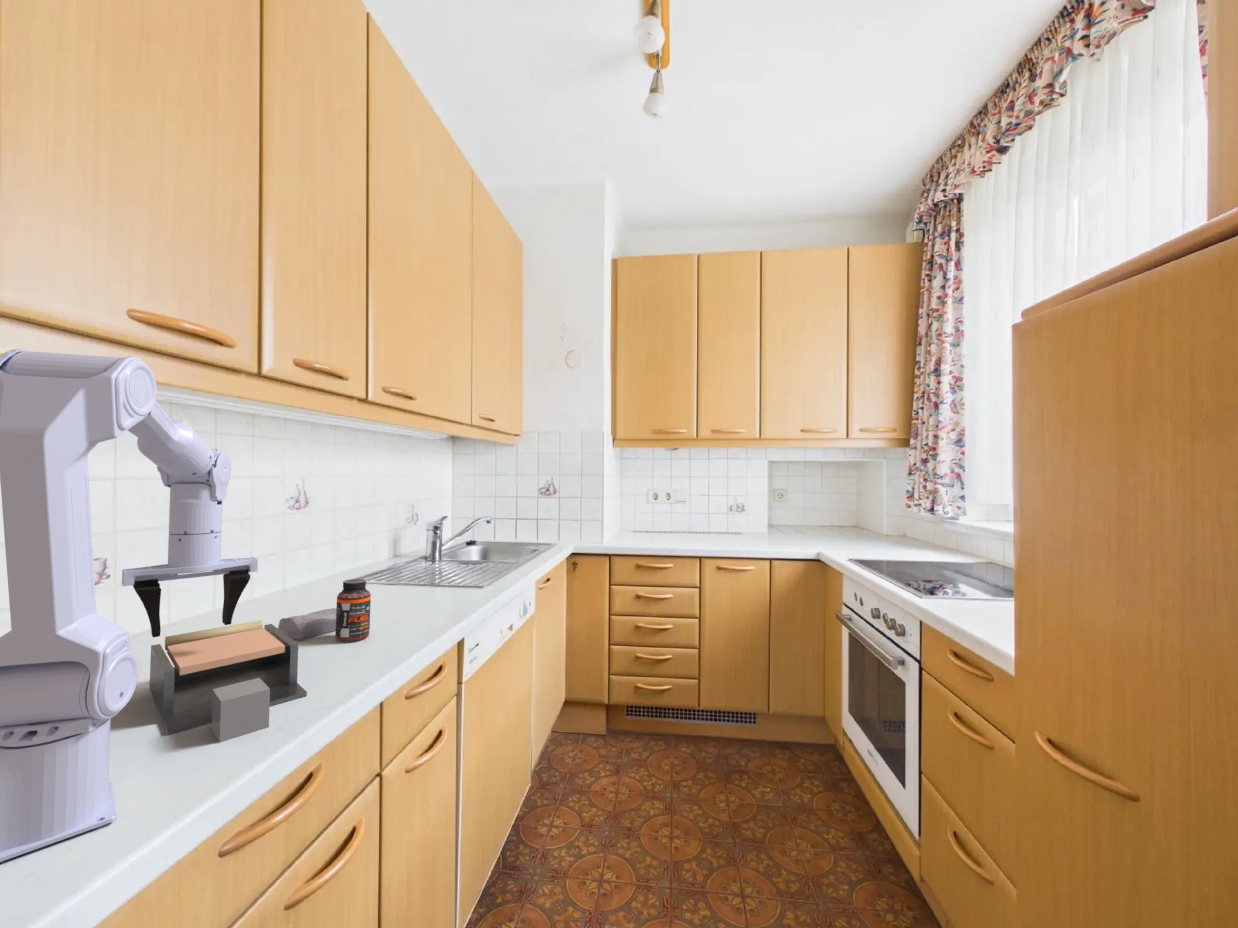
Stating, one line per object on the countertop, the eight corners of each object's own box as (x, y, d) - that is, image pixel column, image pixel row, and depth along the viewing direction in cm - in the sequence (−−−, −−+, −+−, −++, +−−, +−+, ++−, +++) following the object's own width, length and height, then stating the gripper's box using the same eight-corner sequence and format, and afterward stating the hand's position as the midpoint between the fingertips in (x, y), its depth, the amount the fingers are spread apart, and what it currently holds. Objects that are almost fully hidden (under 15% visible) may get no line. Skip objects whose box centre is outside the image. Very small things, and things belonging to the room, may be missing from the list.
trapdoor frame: (167, 735, 62) (169, 682, 62) (149, 689, 75) (150, 645, 75) (306, 695, 73) (307, 651, 73) (270, 661, 86) (271, 623, 86)
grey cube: (219, 743, 61) (221, 701, 61) (211, 728, 64) (212, 689, 64) (268, 727, 64) (269, 688, 64) (258, 714, 68) (259, 677, 68)
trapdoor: (179, 675, 67) (180, 660, 67) (164, 648, 76) (164, 635, 76) (284, 652, 76) (285, 638, 76) (259, 630, 85) (259, 619, 85)
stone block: (271, 643, 100) (301, 642, 96) (270, 619, 101) (299, 616, 97) (329, 630, 111) (358, 627, 107) (328, 608, 112) (356, 604, 107)
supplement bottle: (348, 645, 95) (350, 585, 95) (328, 640, 97) (329, 581, 98) (376, 636, 100) (377, 579, 100) (356, 631, 103) (357, 576, 103)
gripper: (251, 526, 79) (248, 613, 79) (121, 534, 68) (118, 634, 68) (262, 530, 74) (259, 622, 74) (125, 539, 64) (122, 646, 63)
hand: (192, 628), depth 71 cm, fingers open, 7 cm apart
